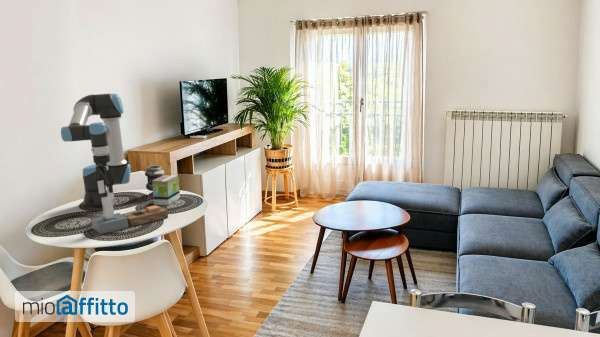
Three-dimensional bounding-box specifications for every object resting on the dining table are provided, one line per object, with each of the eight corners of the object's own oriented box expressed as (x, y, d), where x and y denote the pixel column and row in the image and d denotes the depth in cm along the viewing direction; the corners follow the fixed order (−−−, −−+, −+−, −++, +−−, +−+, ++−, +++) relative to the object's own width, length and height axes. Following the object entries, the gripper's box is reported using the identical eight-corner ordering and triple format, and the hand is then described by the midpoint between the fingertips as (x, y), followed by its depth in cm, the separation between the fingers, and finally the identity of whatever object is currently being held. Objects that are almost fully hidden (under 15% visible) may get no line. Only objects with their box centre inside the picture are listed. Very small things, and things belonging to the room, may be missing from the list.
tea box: (169, 205, 279) (167, 180, 276) (153, 205, 281) (151, 180, 278) (180, 198, 294) (178, 174, 290) (165, 197, 296) (163, 174, 292)
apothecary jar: (156, 198, 296) (153, 169, 292) (142, 195, 302) (139, 167, 298) (170, 193, 306) (168, 165, 302) (157, 191, 312) (154, 163, 308)
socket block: (122, 221, 254) (122, 213, 253) (158, 212, 267) (158, 205, 266) (131, 226, 245) (130, 219, 244) (168, 217, 258) (167, 210, 257)
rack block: (92, 228, 245) (91, 219, 244) (120, 221, 253) (118, 212, 252) (100, 234, 236) (99, 224, 235) (128, 227, 244) (127, 218, 243)
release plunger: (147, 216, 259) (146, 207, 258) (156, 214, 262) (155, 205, 261) (151, 218, 255) (150, 209, 254) (160, 216, 258) (159, 207, 257)
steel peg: (105, 227, 245) (101, 197, 241) (113, 225, 247) (109, 196, 244) (107, 229, 242) (103, 199, 238) (115, 227, 244) (112, 197, 241)
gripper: (85, 152, 243) (90, 192, 248) (101, 159, 224) (107, 202, 229) (100, 149, 248) (105, 189, 253) (117, 156, 229) (123, 199, 234)
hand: (106, 195), depth 241 cm, fingers open, 13 cm apart
